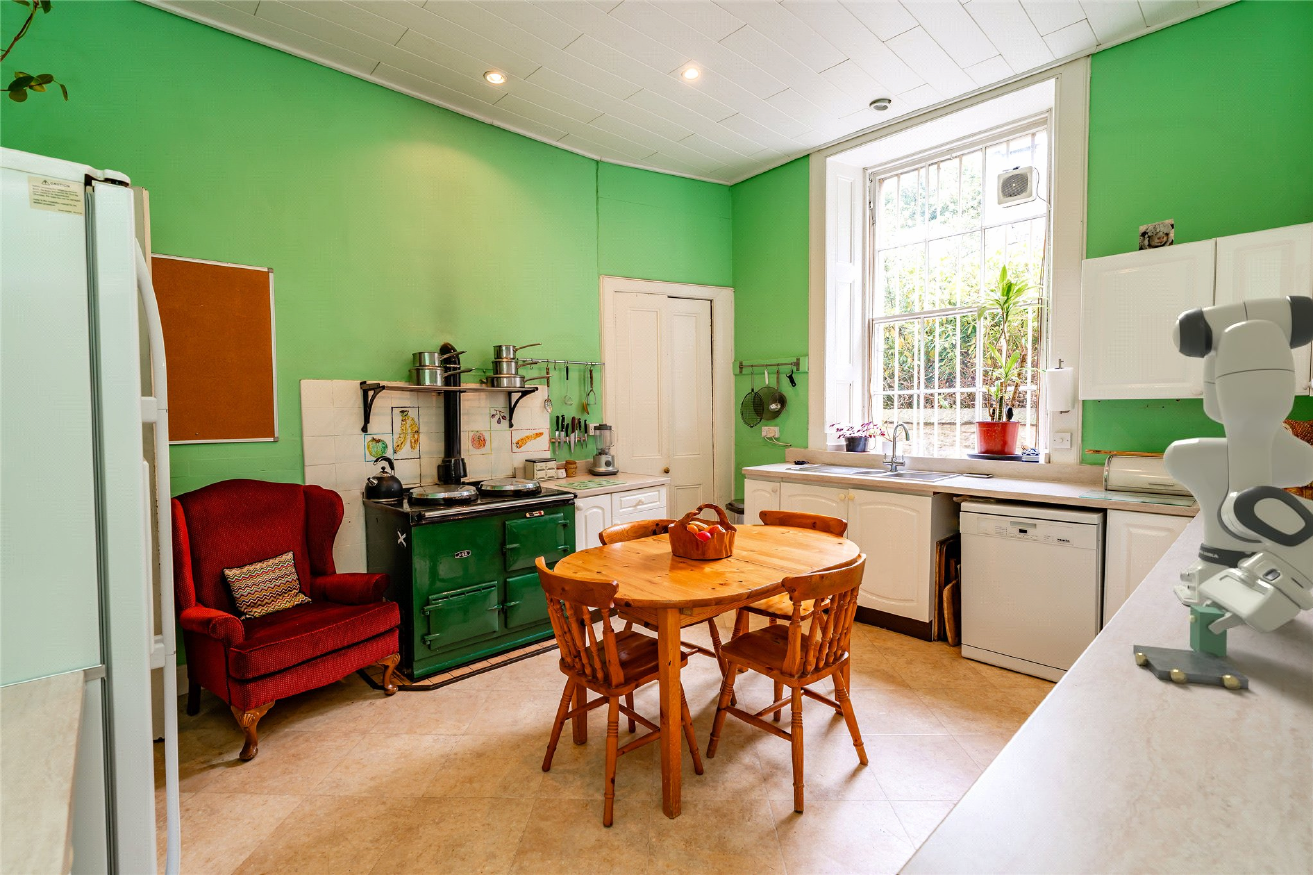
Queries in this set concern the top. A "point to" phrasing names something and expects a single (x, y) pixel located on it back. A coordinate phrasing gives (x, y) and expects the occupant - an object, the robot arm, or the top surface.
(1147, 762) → the top surface
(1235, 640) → the top surface
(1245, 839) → the top surface
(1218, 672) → the level base plate
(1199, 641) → the block
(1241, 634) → the top surface
